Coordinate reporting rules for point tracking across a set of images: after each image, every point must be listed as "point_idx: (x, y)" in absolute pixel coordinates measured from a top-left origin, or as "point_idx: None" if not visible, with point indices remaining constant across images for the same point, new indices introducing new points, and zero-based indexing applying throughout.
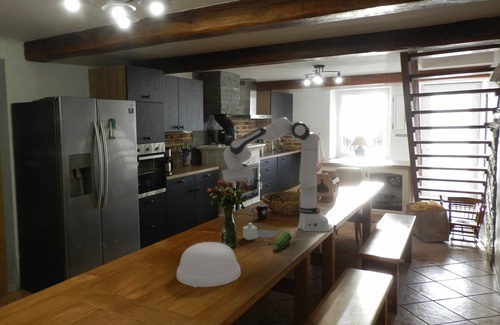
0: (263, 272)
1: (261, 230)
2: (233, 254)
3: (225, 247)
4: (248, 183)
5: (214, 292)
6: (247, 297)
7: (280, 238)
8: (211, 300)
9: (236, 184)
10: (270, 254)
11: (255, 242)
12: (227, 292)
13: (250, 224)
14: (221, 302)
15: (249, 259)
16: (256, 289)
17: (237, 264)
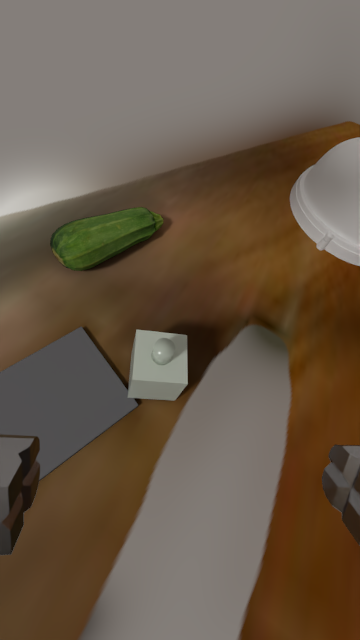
0: (250, 167)
1: None
2: (331, 149)
3: (358, 143)
4: (22, 438)
5: None
6: (307, 132)
7: (125, 215)
8: None
9: (352, 450)
10: (183, 221)
11: (161, 326)
12: None
13: (166, 339)
14: None
15: (248, 226)
16: (287, 139)
17: (303, 182)
